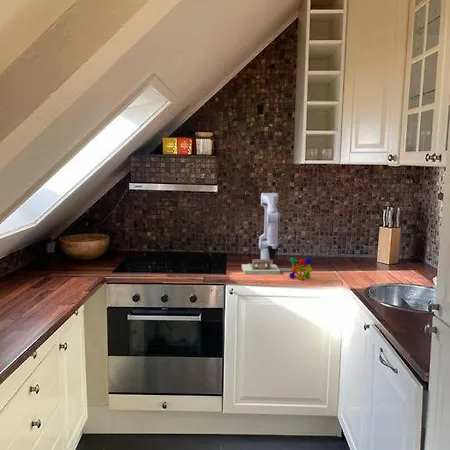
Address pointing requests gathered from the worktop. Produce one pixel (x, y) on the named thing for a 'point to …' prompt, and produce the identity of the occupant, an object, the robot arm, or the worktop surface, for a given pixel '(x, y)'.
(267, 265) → the walnut cover
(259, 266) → the terracotta block
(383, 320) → the worktop surface
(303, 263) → the molecular model
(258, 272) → the puzzle board
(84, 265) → the worktop surface
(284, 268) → the slate pad
